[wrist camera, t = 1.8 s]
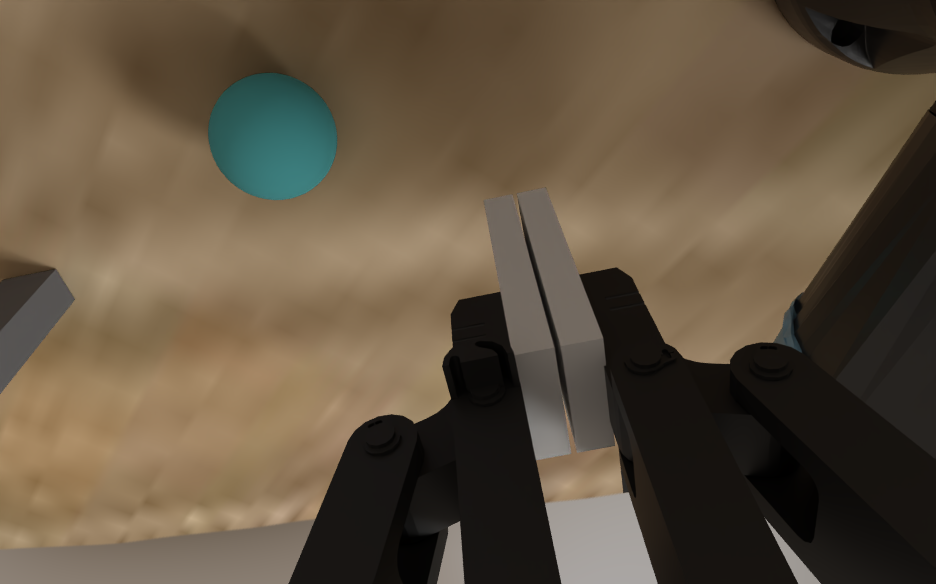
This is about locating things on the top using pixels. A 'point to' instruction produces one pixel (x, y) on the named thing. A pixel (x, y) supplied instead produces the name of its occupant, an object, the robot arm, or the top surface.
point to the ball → (272, 136)
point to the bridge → (28, 317)
